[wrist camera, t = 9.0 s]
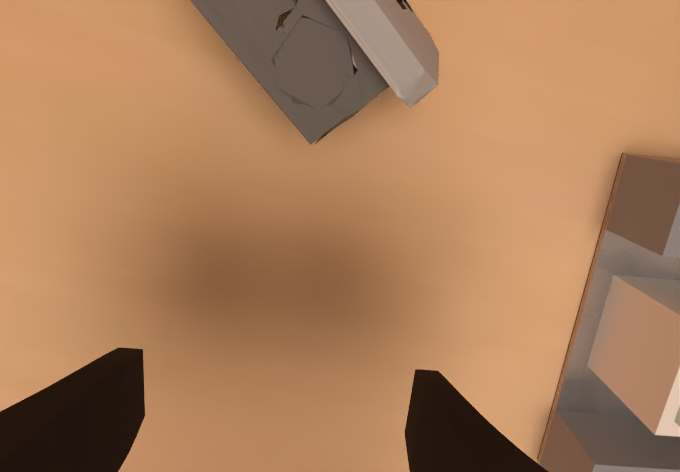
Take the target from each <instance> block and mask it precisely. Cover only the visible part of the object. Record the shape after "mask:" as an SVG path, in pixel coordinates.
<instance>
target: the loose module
mask: <svg viewBox="0 0 680 472" xmlns="http://www.w3.org/2000/svg"><path fill="white" fill-rule="evenodd" d="M587 366H588V367H589V368H590V369H591V370H592V371H593V372H594V373H595V374H596V375H597V376H598V377H599V378H600V379H601V380H602V381H603V382H604V383H605V384H606V385H607V386H608V387H609V388H610V390H611V391H612V392H613V393H614V394H615V395H616V396H617V397H618V398H619V399H620V400H621V401H622V402H623V403H624V404H625V405H626V406H627V407H628V408H629V409H630V410H631V411H632V412H633V413H634V414H635V415H636V416H637V417H638V418H639V419H640V420H641V421H642V422H643V423H644V424H645V425H646V426H647V427H648V429H649V430H650V431H651V432H652V433H653V434H654V435H662V436H677V437H680V280H668V279H656V278H645V277H633V276H621V275H613V278H612V281H611V285H610V288H609V292H608V295H607V298H606V302H605V305H604V309H603V312H602V315H601V319H600V322H599V326H598V329H597V333H596V336H595V339H594V343H593V346H592V350H591V353H590V356H589V360H588V363H587Z"/></svg>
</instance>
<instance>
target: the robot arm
mask: <svg viewBox="0 0 680 472" xmlns="http://www.w3.org/2000/svg"><path fill="white" fill-rule="evenodd" d="M144 416H145V404H144V373H143V349H131V348H117V349H115V350H113V351H111V352H109V353H107V354H105V355H104V356H102V357H100V358H98V359H96V360H95V361H93V362H91V363H89V364H88V365H86V366H84V367H82V368H81V369H79V370H77V371H75V372H74V373H72V374H70V375H68V376H67V377H65V378H63V379H61V380H60V381H58V382H56V383H54V384H52V385H51V386H49V387H47V388H45V389H43V390H41V391H39V392H37V393H36V394H34V395H32V396H30V397H28V398H26V399H24V400H22V401H20V402H18V403H16V404H14V405H12V406H10V407H9V408H7V409H5V410H3V411H1V412H0V472H118V471H119V469H120V467H121V465H122V464H123V462H124V460H125V459H126V457H127V455H128V453H129V451H130V449H131V447H132V445H133V442H134V440H135V438H136V436H137V433H138V431H139V428H140V426H141V424H142V421H143V419H144ZM405 439H406V447H407V455H408V462H409V469H410V472H548V471H547V470H546V469H544V468H543V467H542V466H540V465H539V464H538V463H536V462H535V461H534V460H532V459H531V458H530V457H528V456H527V455H526V454H525V453H524V452H522V451H521V450H520V449H519V448H517V447H516V446H515V445H514V444H513V443H512V442H511V441H509V440H508V439H507V438H506V437H505V436H504V435H503V434H501V433H500V432H499V431H498V430H497V429H496V428H495V427H494V426H493V425H491V424H490V423H489V422H488V421H487V420H486V419H485V418H484V417H483V416H482V415H481V414H480V413H479V412H478V411H477V410H476V409H475V408H474V407H473V406H472V405H471V404H470V403H469V402H468V401H467V400H466V399H465V398H464V397H463V396H462V395H461V394H460V393H459V392H458V391H457V390H456V389H455V388H454V387H453V386H452V385H451V384H450V383H449V381H448V380H447V379H446V378H445V377H444V376H443V375H442V374H441V373H439V372H438V371H431V370H417V369H415V375H414V381H413V387H412V393H411V399H410V405H409V411H408V417H407V422H406V428H405Z"/></svg>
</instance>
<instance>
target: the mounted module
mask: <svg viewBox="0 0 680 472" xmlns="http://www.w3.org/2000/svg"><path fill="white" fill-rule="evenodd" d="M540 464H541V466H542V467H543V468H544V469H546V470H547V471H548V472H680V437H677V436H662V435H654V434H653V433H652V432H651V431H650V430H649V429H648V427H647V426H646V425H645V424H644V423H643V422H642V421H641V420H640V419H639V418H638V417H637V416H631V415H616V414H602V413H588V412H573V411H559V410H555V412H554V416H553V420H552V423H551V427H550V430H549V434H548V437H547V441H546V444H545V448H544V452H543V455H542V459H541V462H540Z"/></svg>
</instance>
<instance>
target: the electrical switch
mask: <svg viewBox="0 0 680 472" xmlns="http://www.w3.org/2000/svg"><path fill="white" fill-rule="evenodd" d="M190 1H191V2H192V3H193V4H194V5H195V7H196V8H197V9H198V10H199V11H200V13H201V14H202V15H203V16H204V17H205V19H206V20H207V21H208V22H209V23H210V25H211V26H212V27H213V28H214V29H215V31H216V32H217V33H218V34H219V35H220V37H221V38H222V39H223V40H224V41H225V43H226V44H227V45H228V46H229V47H230V49H231V50H232V51H233V52H234V53H235V55H236V56H237V57H238V58H239V59H240V61H241V62H242V63H243V64H244V65H245V67H246V68H247V69H248V70H249V71H250V72H251V74H252V75H253V76H254V77H255V78H256V80H257V81H258V82H259V83H260V84H261V86H262V87H263V88H264V89H265V90H266V92H267V93H268V94H269V95H270V96H271V98H272V99H273V100H274V101H275V102H276V104H277V105H278V106H279V107H280V108H281V110H282V111H283V112H284V113H285V114H286V116H287V117H288V118H289V119H290V120H291V122H292V123H293V124H294V125H295V126H296V128H297V129H298V130H299V131H300V132H301V134H302V135H303V136H304V137H305V138H306V140H307V141H308V142H309V143H310V144H312V143H313V142H315V141H316V140H317V139H318V138H319V140H318V141H320V140H321V139H322V138H323V137H324V136H326V135H327V134H328V133H329V132H331V131H332V130H333V129H334V128H336V127H337V126H339V125H340V124H342V123H344V122H345V121H347V120H348V119H350V118H351V117H353V116H354V115H355V114H356V113H357V112H358V111H360V110H361V109H362V108H363V107H364V106H365V105H367V104H368V103H369V102H370V101H371V100H372V99H373V98H375V97H376V96H377V95H378V94H380V93H381V92H382V91H384V90H385V89H386V88H388V87H389V86H390V87H391V88H392V90H393V91H394V92H395V94H396V95H397V96H398V97H399V98H400V99H401V100H402V101H403V102H404V103H405V104H407V105H408V106H409V107H410V108H412V107H413V106H414V105H415V104H416V103H418V102H419V101H420V100H421V99H422V98H423V97H424V96H426V95H427V94H428V93H429V92H430V91H431V90H432V89H433V88H435V87H436V86H437V85H438V69H439V52H438V50H437V48H436V46H435V44H434V42H433V40H432V38H431V36H430V34H429V33H428V31H427V30H426V28H425V27H424V26H423V24H422V23H421V21H420V20H419V18H418V17H417V16H416V14H415V13H414V11H413V10H412V8H411V7H410V5H409V4H408V2H407V1H406V0H190ZM287 11H291V13H290V14H289V15H288V17H287V18H286V19H285V20H284V22H283V23H282V24H281V25H280V27H279V28H278V29H277V30H276V27H277V23H278V19H279V15H281V14H283V13H285V12H287ZM294 102H297V103H300V104H295V103H294ZM318 141H317V142H318ZM317 142H316V143H317ZM316 143H315V144H316ZM315 144H314V145H315Z"/></svg>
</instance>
